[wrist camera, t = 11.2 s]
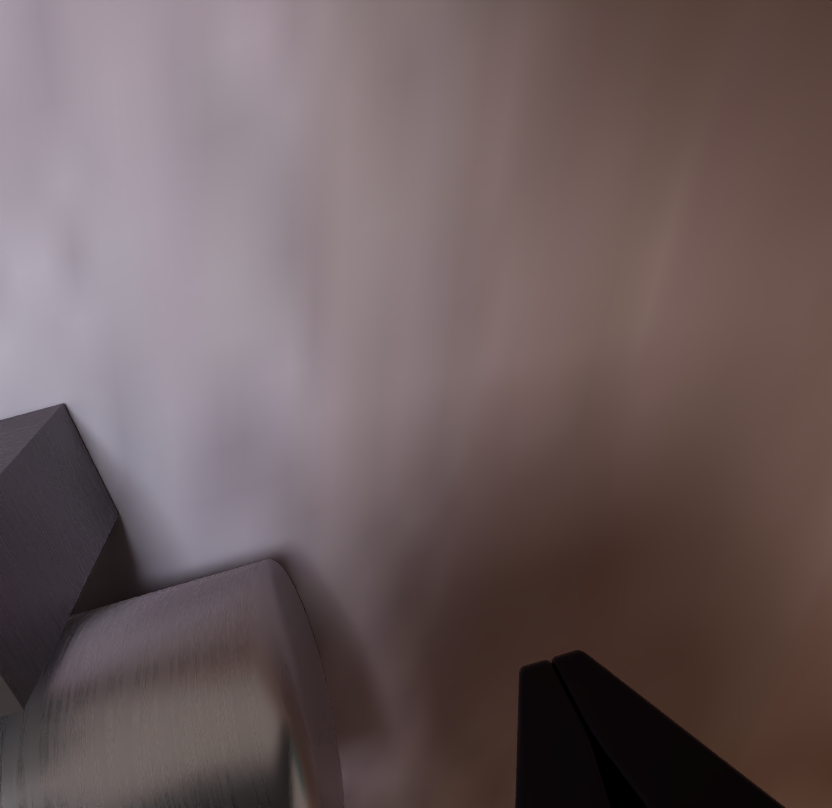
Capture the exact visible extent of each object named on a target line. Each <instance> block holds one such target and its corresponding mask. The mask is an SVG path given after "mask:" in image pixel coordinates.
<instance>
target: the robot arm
mask: <svg viewBox="0 0 832 808" xmlns="http://www.w3.org/2000/svg"><path fill="white" fill-rule="evenodd" d="M515 808H785V807H784V806H783V805H781V804H780V803H779V802H777V801H776V800H775V799H774V798H772V797H771V796H770V795H768V794H767V793H766V792H764V791H763V790H762V789H761V788H759V787H758V786H757V785H755V784H754V783H753V782H752V781H750V780H749V779H748V778H746V777H745V776H744V775H743V774H741V773H740V772H739V771H737V770H736V769H735V768H733V767H732V766H731V765H730V764H728V763H727V762H726V761H724V760H723V759H722V758H721V757H719V756H718V755H717V754H715V753H714V752H713V751H712V750H710V749H709V748H708V747H706V746H705V745H704V744H702V743H701V742H700V741H699V740H697V739H696V738H695V737H693V736H692V735H691V734H690V733H688V732H687V731H686V730H684V729H683V728H682V727H681V726H679V725H678V724H677V723H675V722H674V721H673V720H671V719H670V718H669V717H668V716H666V715H665V714H664V713H662V712H661V711H660V710H659V709H657V708H656V707H655V706H653V705H652V704H651V703H650V702H648V701H647V700H646V699H644V698H643V697H642V696H640V695H639V694H638V693H637V692H635V691H634V690H633V689H631V688H630V687H629V686H628V685H626V684H625V683H624V682H622V681H621V680H620V679H619V678H617V677H616V676H615V675H613V674H612V673H611V672H609V671H608V670H607V669H606V668H604V667H603V666H602V665H600V664H599V663H598V662H597V661H595V660H594V659H593V658H591V657H590V656H589V655H588V654H586V653H585V652H583V651H580V650H576V651H572V652H569V653H566V654H562V655H559V656H556V657H554V658H553V659H552V662H550V661H548V660H543V661H540V662H536V663H533V664H530V665H527V666H524V667H522V668H521V669H520V672H519V696H518V732H517V767H516V803H515Z"/></svg>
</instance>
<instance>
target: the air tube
mask: <svg viewBox="0 0 832 808" xmlns="http://www.w3.org/2000/svg"><path fill="white" fill-rule="evenodd" d="M0 808H344V794H343V783H342V773H341V764H340V757H339V750H338V742H337V736H336V730H335V724H334V719H333V714H332V708H331V703H330V699H329V694H328V689H327V685H326V681H325V677H324V672H323V668H322V665H321V661H320V657H319V653H318V650H317V646H316V643H315V640H314V637H313V633H312V630H311V627H310V624H309V621H308V619H307V616H306V613H305V610H304V608H303V605H302V603H301V600H300V598H299V596H298V594H297V591H296V589H295V587H294V585H293V583H292V581H291V580H290V578H289V576H288V575H287V573H286V572H285V570H284V569H283V568H282V566H281V565H280V564H279V563H277V562H276V561H274V560H272V559H266V560H263V561H259V562H256V563H252V564H249V565H245V566H242V567H238V568H235V569H231V570H228V571H224V572H221V573H218V574H214V575H211V576H207V577H204V578H200V579H197V580H193V581H190V582H186V583H183V584H179V585H176V586H172V587H169V588H165V589H162V590H158V591H155V592H151V593H148V594H144V595H141V596H138V597H134V598H131V599H127V600H124V601H120V602H117V603H113V604H110V605H106V606H103V607H99V608H96V609H92V610H89V611H85V612H82V613H78V614H75V615H71V616H69V618H68V620H67V622H66V624H65V626H64V628H63V630H62V632H61V634H60V636H59V638H58V640H57V642H56V645H55V647H54V649H53V651H52V653H51V655H50V657H49V659H48V661H47V663H46V665H45V667H44V669H43V671H42V673H41V675H40V677H39V679H38V682H37V684H36V686H35V688H34V690H33V692H32V694H31V696H30V698H29V700H28V702H27V704H26V706H25V708H24V710H22V711H18V712H15V713H11V714H8V715H5V716H1V717H0Z"/></svg>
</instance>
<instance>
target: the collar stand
mask: <svg viewBox="0 0 832 808" xmlns="http://www.w3.org/2000/svg"><path fill="white" fill-rule="evenodd" d="M117 517H118V513H117V511H116V509H115V507H114V505H113V503H112V501H111V499H110V497H109V495H108V493H107V491H106V488H105V486H104V484H103V482H102V480H101V478H100V476H99V474H98V472H97V470H96V468H95V466H94V464H93V462H92V460H91V458H90V456H89V454H88V452H87V450H86V448H85V446H84V444H83V442H82V440H81V438H80V436H79V434H78V432H77V430H76V428H75V426H74V424H73V422H72V420H71V418H70V416H69V414H68V412H67V410H66V408H65V406H64V404H59V405H55V406H52V407H48V408H44V409H41V410H37V411H33V412H29V413H26V414H22V415H18V416H15V417H11V418H7V419H4V420H0V717H1V716H5V715H8V714H11V713H15V712H18V711H22V710H24V708H25V706H26V704H27V702H28V700H29V698H30V696H31V694H32V692H33V690H34V688H35V686H36V684H37V682H38V679H39V677H40V675H41V673H42V671H43V669H44V667H45V665H46V663H47V661H48V659H49V657H50V655H51V653H52V651H53V649H54V647H55V645H56V642H57V640H58V638H59V636H60V634H61V632H62V630H63V628H64V626H65V624H66V622H67V620H68V618H69V616H70V614H71V612H72V610H73V607H74V605H75V603H76V601H77V599H78V597H79V595H80V593H81V591H82V589H83V587H84V585H85V583H86V581H87V579H88V577H89V575H90V573H91V570H92V568H93V566H94V564H95V562H96V560H97V558H98V556H99V554H100V552H101V550H102V548H103V546H104V544H105V542H106V540H107V538H108V535H109V533H110V531H111V529H112V527H113V525H114V523H115V521H116V519H117Z"/></svg>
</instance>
